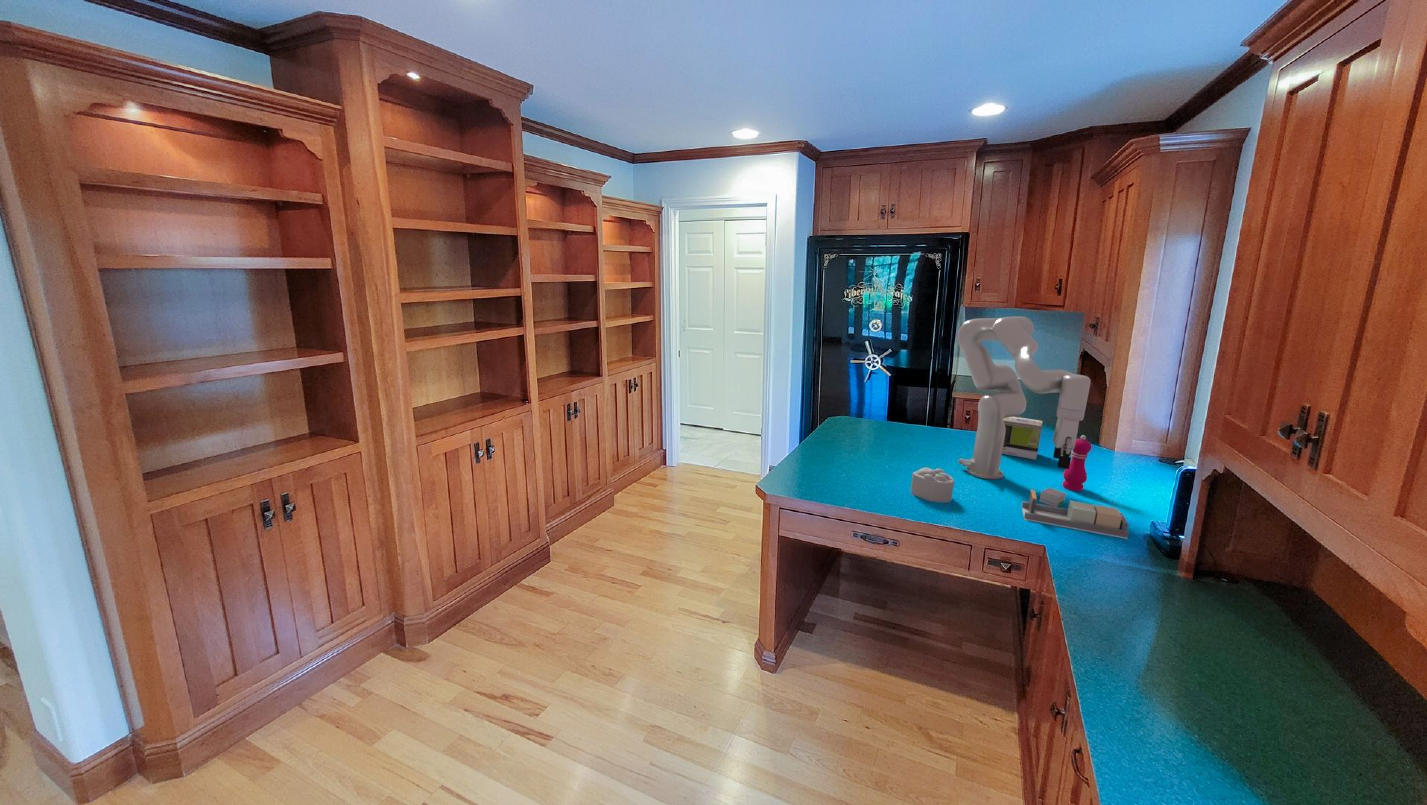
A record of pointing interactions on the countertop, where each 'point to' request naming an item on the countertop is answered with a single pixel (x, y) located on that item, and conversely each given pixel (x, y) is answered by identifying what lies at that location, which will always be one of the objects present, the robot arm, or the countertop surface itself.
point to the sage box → (1081, 512)
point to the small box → (1052, 497)
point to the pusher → (1032, 502)
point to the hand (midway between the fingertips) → (1060, 463)
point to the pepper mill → (1077, 466)
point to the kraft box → (1107, 517)
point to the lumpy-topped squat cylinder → (932, 485)
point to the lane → (1060, 519)
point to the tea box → (1022, 437)
